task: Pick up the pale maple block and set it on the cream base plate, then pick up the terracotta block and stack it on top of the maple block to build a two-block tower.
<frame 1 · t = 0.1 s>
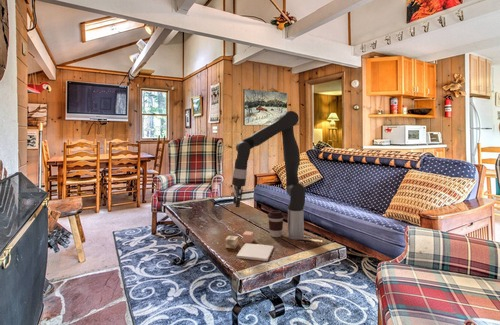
hand: (236, 205, 154), 22 cm above the table, tool pointing down, fingers open, 8 cm apart
base plate: (255, 252, 144), on the table
terracotta block: (248, 241, 159), on the table
maple block: (231, 246, 153), on the table
coffee cup: (275, 235, 168), on the table
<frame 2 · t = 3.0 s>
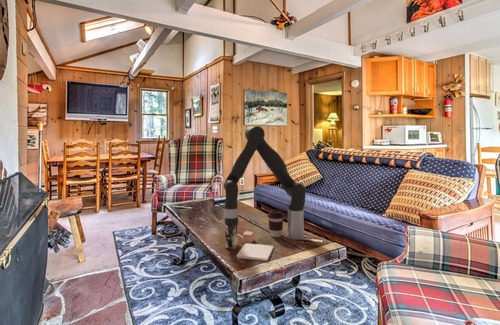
hand: (231, 245, 153), 1 cm above the table, tool pointing down, fingers closed on maple block, 5 cm apart
maple block: (231, 246, 153), on the table, touching gripper
everything else where it was.
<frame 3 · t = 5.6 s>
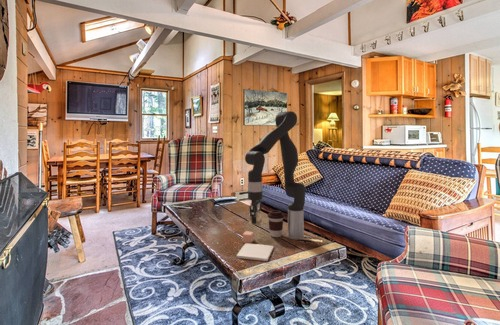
hand: (255, 221, 142), 17 cm above the table, tool pointing down, fingers closed on maple block, 5 cm apart
maple block: (255, 222, 142), point 16 cm above the table, touching gripper
everything else where it was.
when the fingers open (3 cm above the table, at t = 8.5 s): maple block drops 1 cm, resting on base plate.
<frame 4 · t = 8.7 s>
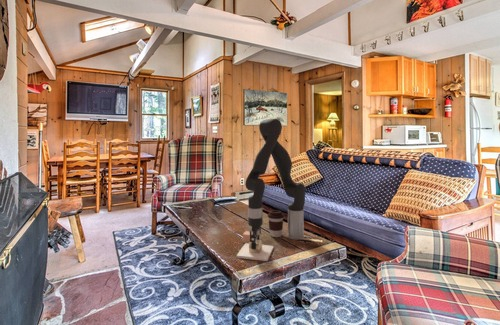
hand: (255, 246, 143), 4 cm above the table, tool pointing down, fingers open, 7 cm apart
maple block: (255, 250, 144), point 1 cm above the table, touching base plate
everything else where it was.
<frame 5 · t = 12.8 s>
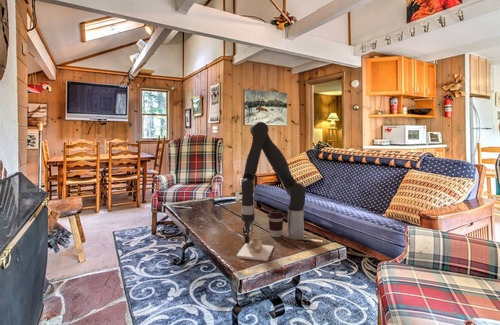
hand: (248, 240, 159), 0 cm above the table, tool pointing down, fingers closed on terracotta block, 5 cm apart
terracotta block: (248, 241, 159), on the table, touching gripper
everything else where it was.
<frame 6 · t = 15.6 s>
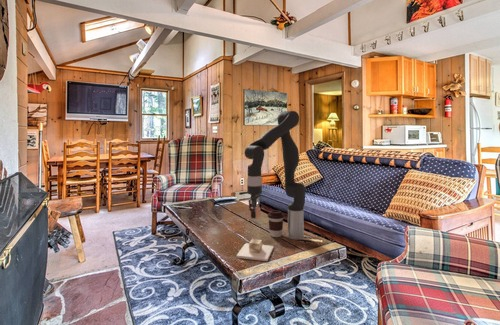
hand: (254, 216, 142), 20 cm above the table, tool pointing down, fingers closed on terracotta block, 5 cm apart
terracotta block: (254, 217, 142), point 19 cm above the table, touching gripper
everything else where it was.
when the fingers open (8 cm above the table, at t = 18.2 s): terracotta block drops 1 cm, resting on maple block.
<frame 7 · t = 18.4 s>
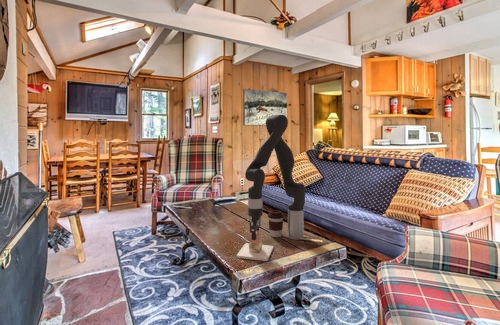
hand: (255, 237, 143), 8 cm above the table, tool pointing down, fingers open, 6 cm apart
terracotta block: (255, 241, 143), point 6 cm above the table, touching maple block
maple block: (255, 250, 144), point 1 cm above the table, touching base plate, terracotta block
everything else where it was.
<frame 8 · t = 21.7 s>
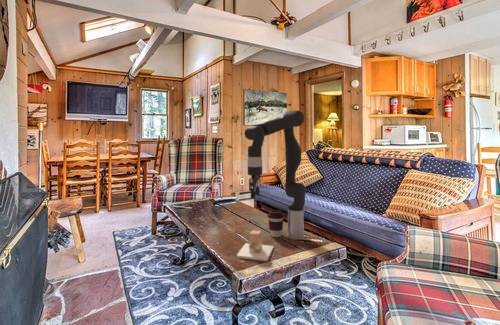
hand: (255, 196, 141), 30 cm above the table, tool pointing down, fingers open, 8 cm apart
nothing on the table moved.
at the end: maple block inside the target area on the base plate (0.0 cm from its centre), point 1.2 cm above the base plate's base; terracotta block 0.0 cm off-centre on the maple block, point 5.0 cm above the maple block's base; terracotta block tilted 0° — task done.
